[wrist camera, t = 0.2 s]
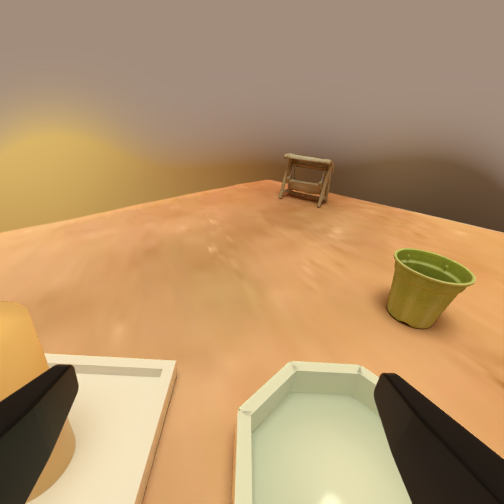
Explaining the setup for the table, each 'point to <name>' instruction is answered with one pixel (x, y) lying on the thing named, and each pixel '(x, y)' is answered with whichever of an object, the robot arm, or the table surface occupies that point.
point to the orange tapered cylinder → (22, 372)
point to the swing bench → (307, 186)
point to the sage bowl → (314, 440)
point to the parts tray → (112, 428)
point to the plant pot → (425, 286)
